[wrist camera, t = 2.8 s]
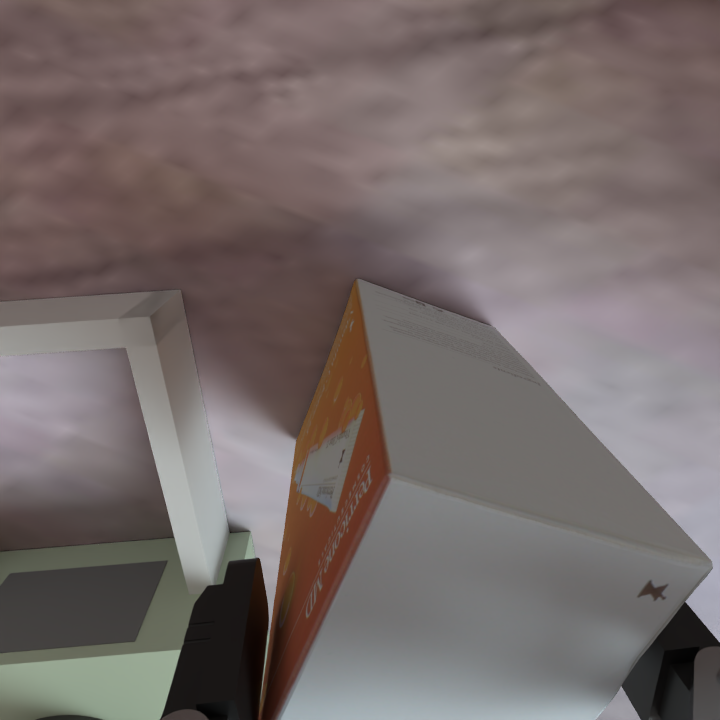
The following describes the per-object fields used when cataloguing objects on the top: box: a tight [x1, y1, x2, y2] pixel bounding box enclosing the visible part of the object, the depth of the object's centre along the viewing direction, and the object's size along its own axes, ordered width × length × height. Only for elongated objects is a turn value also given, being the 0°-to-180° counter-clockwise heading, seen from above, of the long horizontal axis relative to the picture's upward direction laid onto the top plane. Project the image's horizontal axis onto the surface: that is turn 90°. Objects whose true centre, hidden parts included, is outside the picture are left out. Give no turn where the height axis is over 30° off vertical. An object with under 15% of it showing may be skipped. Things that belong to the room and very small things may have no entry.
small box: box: [258, 279, 713, 720], centre depth 15 cm, size 8×6×13 cm
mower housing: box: [0, 289, 269, 720], centre depth 18 cm, size 14×22×11 cm, turn 3°
